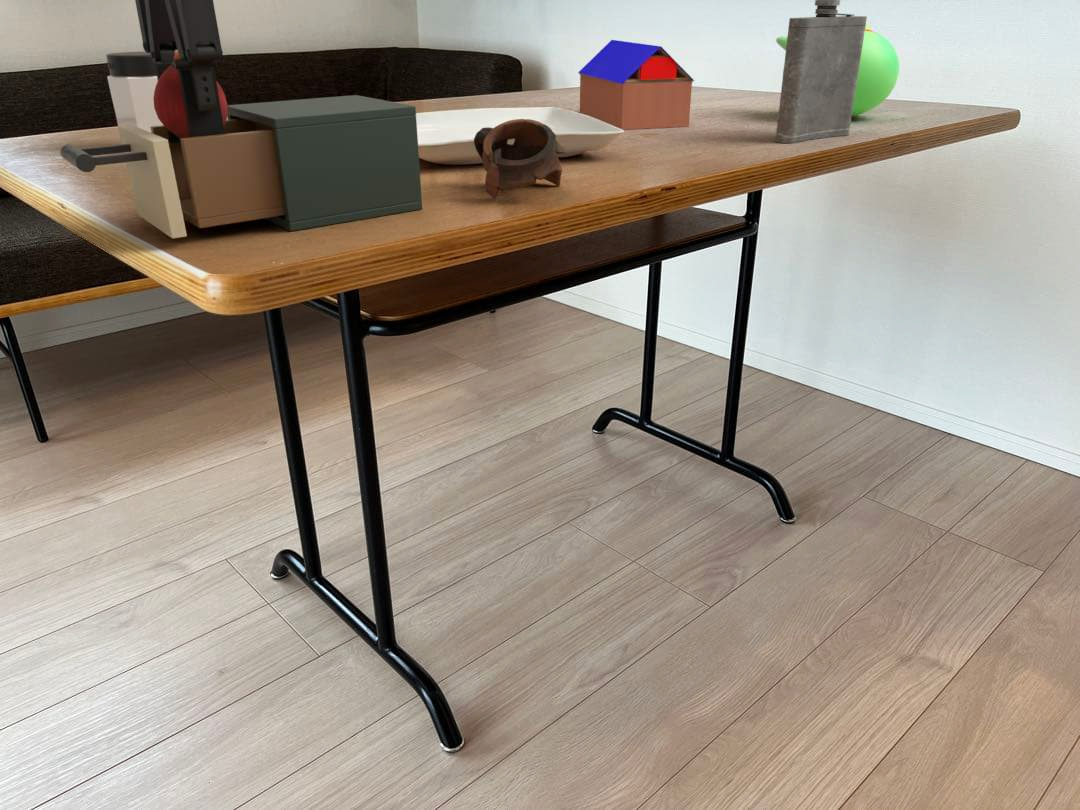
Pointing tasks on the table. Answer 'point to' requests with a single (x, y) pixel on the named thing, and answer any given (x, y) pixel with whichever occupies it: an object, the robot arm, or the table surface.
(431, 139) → the square plate
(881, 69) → the toy bird
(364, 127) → the cabinet
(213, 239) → the table surface
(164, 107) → the onion
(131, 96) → the jar
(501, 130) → the pottery mug
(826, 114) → the flask
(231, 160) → the drawer
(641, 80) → the house
